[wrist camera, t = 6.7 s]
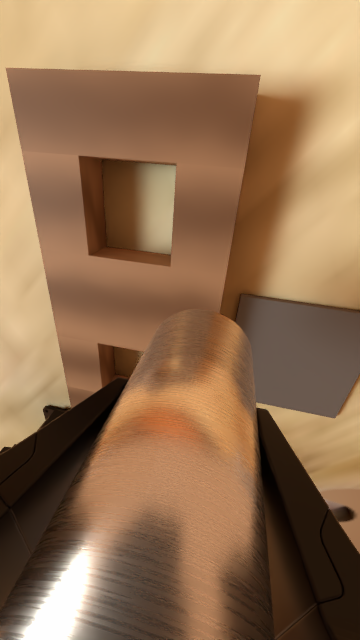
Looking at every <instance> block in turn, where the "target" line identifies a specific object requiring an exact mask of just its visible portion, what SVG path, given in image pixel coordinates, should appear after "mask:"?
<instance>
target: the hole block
mask: <svg viewBox="0 0 360 640" xmlns="http://www.w3.org/2000/svg"><path fill="white" fill-rule="evenodd" d="M6 71H7V77H8V82H9V87H10V92H11V97H12V103H13V108H14V113H15V118H16V123H17V128H18V134H19V139H20V144H21V149H22V154H23V160H24V165H25V170H26V175H27V180H28V185H29V191H30V196H31V201H32V206H33V211H34V217H35V222H36V227H37V232H38V237H39V242H40V248H41V253H42V258H43V263H44V268H45V273H46V279H47V284H48V289H49V294H50V299H51V305H52V310H53V315H54V320H55V325H56V330H57V336H58V341H59V346H60V351H61V356H62V362H63V367H64V372H65V377H66V382H67V387H68V393H69V398H70V403H71V408H73V407H74V406H76V405H77V404H79V403H80V402H82V401H83V400H85V399H86V398H88V397H89V396H91V395H92V394H94V393H95V392H97V391H98V390H100V389H101V388H103V387H104V386H106V385H107V384H109V383H110V382H112V381H113V380H115V379H116V378H118V377H121V378H126V379H128V380H129V379H130V377H126V376H121V375H116V374H115V363H114V348H113V346H116V347H121V348H127V349H132V350H137V351H143V352H145V350H146V348H147V346H148V344H149V343H150V341H151V339H152V337H153V336H154V334H155V332H156V330H157V329H158V327H159V326H160V324H161V323H162V322H163V321H164V320H166V319H167V318H168V317H170V316H172V315H173V314H176V313H178V312H181V311H185V310H192V309H202V310H209V311H213V312H217V313H220V308H221V302H222V296H223V290H224V284H225V279H226V273H227V267H228V261H229V255H230V250H231V244H232V238H233V232H234V226H235V221H236V215H237V209H238V203H239V197H240V192H241V186H242V180H243V174H244V168H245V163H246V157H247V151H248V145H249V139H250V134H251V128H252V122H253V116H254V110H255V105H256V99H257V93H258V87H259V81H260V76H261V75H241V74H205V73H170V72H135V71H99V70H64V69H28V68H6ZM101 159H102V160H115V161H127V162H140V163H152V164H165V165H176V181H175V198H174V215H173V232H172V249H171V255H166V254H159V253H151V252H143V251H136V250H128V249H120V248H113V247H107V241H106V226H105V211H104V195H103V180H102V165H101Z"/></svg>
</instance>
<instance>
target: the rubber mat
mask: <svg viewBox="0 0 360 640" xmlns="http://www.w3.org/2000/svg"><path fill="white" fill-rule="evenodd" d="M235 323H236V324H237V325H238V326H239V327H240V328H241V329H242V330H243V331H244V333H245V334H246V336H247V338H248V340H249V342H250V345H251V350H252V360H253V373H254V385H255V398H256V402H257V403H262V404H267V405H272V406H277V407H282V408H287V409H292V410H296V411H301V412H306V413H311V414H316V415H321V416H326V417H331V418H336V416H337V414H338V412H339V410H340V409H341V407H342V405H343V403H344V401H345V400H346V398H347V396H348V394H349V392H350V391H351V389H352V387H353V385H354V383H355V382H356V380H357V378H358V376H359V374H360V311H356V310H350V309H343V308H336V307H329V306H322V305H315V304H309V303H302V302H295V301H288V300H281V299H275V298H268V297H261V296H254V295H247V294H241V297H240V302H239V306H238V311H237V316H236V321H235Z"/></svg>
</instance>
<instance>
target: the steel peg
mask: <svg viewBox="0 0 360 640" xmlns="http://www.w3.org/2000/svg"><path fill="white" fill-rule="evenodd" d="M0 640H275V633H274V621H273V609H272V596H271V584H270V571H269V559H268V547H267V534H266V522H265V509H264V497H263V485H262V472H261V460H260V447H259V435H258V422H257V410H256V398H255V385H254V373H253V360H252V350H251V345H250V342H249V340H248V338H247V336H246V334H245V333H244V331H243V330H242V329H241V328H240V327H239V326H238V325H237V324H236V323H235V322H234V321H232V320H231V319H229V318H228V317H226V316H224V315H222V314H219V313H217V312H213V311H209V310H202V309H192V310H185V311H181V312H178V313H176V314H173V315H172V316H170V317H168V318H167V319H166V320H164V321H163V322H162V323H161V324H160V326H159V327H158V329H157V330H156V332H155V334H154V336H153V337H152V339H151V341H150V343H149V344H148V346H147V348H146V350H145V352H144V353H143V355H142V357H141V359H140V361H139V362H138V364H137V366H136V368H135V370H134V371H133V373H132V375H131V377H130V379H129V380H128V382H127V384H126V386H125V388H124V389H123V391H122V393H121V395H120V397H119V398H118V400H117V402H116V404H115V406H114V407H113V409H112V411H111V413H110V414H109V416H108V418H107V420H106V422H105V423H104V425H103V427H102V429H101V431H100V432H99V434H98V436H97V438H96V440H95V441H94V443H93V445H92V447H91V449H90V450H89V452H88V454H87V456H86V458H85V459H84V461H83V463H82V465H81V467H80V468H79V470H78V472H77V474H76V476H75V477H74V479H73V481H72V483H71V484H70V486H69V488H68V490H67V492H66V493H65V495H64V497H63V499H62V501H61V502H60V504H59V506H58V508H57V510H56V511H55V513H54V515H53V517H52V519H51V520H50V522H49V524H48V526H47V528H46V529H45V531H44V533H43V535H42V537H41V538H40V540H39V542H38V544H37V546H36V547H35V549H34V551H33V553H32V554H31V556H30V558H29V560H28V562H27V563H26V565H25V567H24V569H23V571H22V572H21V574H20V576H19V578H18V580H17V581H16V583H15V585H14V587H13V589H12V590H11V592H10V594H9V596H8V598H7V599H6V601H5V603H4V605H3V607H2V608H1V610H0Z"/></svg>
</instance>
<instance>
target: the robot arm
mask: <svg viewBox="0 0 360 640" xmlns="http://www.w3.org/2000/svg"><path fill="white" fill-rule="evenodd" d="M127 382H128V379H126V378H121V377H118V378H116V379H115V380H113V381H112V382H110V383H109V384H107V385H106V386H104V387H103V388H101V389H100V390H98V391H97V392H95V393H94V394H92V395H91V396H89V397H88V398H86V399H85V400H83V401H82V402H80V403H79V404H77V405H76V406H74V407H73V408H71V409H70V410H63V409H59V408H55V407H50V406H45V407H44V408H43V412H44V416H45V419H46V421H45V422H44V423H43V424H42V426H41V427H40V428H39V429H38V430H37V432H35V433H33V434H32V435H30V436H29V437H27V438H26V439H24V440H23V441H21V442H20V443H18V444H15V445H14V446H13V447H12V448H11V447H4V448H3V449H2V450H1V451H0V610H1V608H2V607H3V605H4V603H5V601H6V599H7V598H8V596H9V594H10V592H11V590H12V589H13V587H14V585H15V583H16V581H17V580H18V578H19V576H20V574H21V572H22V571H23V569H24V567H25V565H26V563H27V562H28V560H29V558H30V556H31V554H32V553H33V551H34V549H35V547H36V546H37V544H38V542H39V540H40V538H41V537H42V535H43V533H44V531H45V529H46V528H47V526H48V524H49V522H50V520H51V519H52V517H53V515H54V513H55V511H56V510H57V508H58V506H59V504H60V502H61V501H62V499H63V497H64V495H65V493H66V492H67V490H68V488H69V486H70V484H71V483H72V481H73V479H74V477H75V476H76V474H77V472H78V470H79V468H80V467H81V465H82V463H83V461H84V459H85V458H86V456H87V454H88V452H89V450H90V449H91V447H92V445H93V443H94V441H95V440H96V438H97V436H98V434H99V432H100V431H101V429H102V427H103V425H104V423H105V422H106V420H107V418H108V416H109V414H110V413H111V411H112V409H113V407H114V406H115V404H116V402H117V400H118V398H119V397H120V395H121V393H122V391H123V389H124V388H125V386H126V384H127ZM256 410H257V422H258V435H259V447H260V460H261V472H262V485H263V497H264V509H265V522H266V534H267V547H268V559H269V571H270V584H271V596H272V609H273V621H274V633H275V640H360V554H359V552H358V551H357V549H356V548H355V546H354V545H353V543H352V542H351V540H350V539H349V537H348V536H347V534H346V533H345V531H344V530H343V528H342V527H341V525H340V524H339V522H338V521H337V519H336V517H335V516H334V514H333V513H332V511H331V510H330V509H328V508H329V507H328V505H327V503H326V502H325V500H324V499H323V497H322V496H321V494H320V492H319V491H318V489H317V488H316V486H315V484H314V483H313V481H312V480H311V478H310V477H309V475H308V473H307V472H306V470H305V469H304V467H303V465H302V464H301V462H300V461H299V459H298V458H297V456H296V454H295V453H294V451H293V450H292V448H291V446H290V445H289V443H288V442H287V440H286V439H285V437H284V435H283V434H282V432H281V431H280V429H279V428H278V426H277V424H276V423H275V421H274V420H273V418H272V416H271V415H270V413H269V412H268V411H267V410H266V409H261V408H256Z"/></svg>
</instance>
